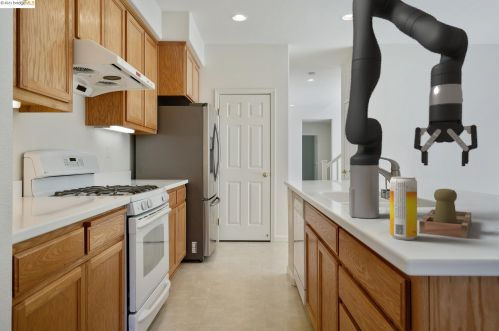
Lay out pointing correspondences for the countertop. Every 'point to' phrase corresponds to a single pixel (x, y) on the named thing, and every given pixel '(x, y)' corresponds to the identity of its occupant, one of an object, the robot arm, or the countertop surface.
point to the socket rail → (446, 225)
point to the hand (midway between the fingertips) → (444, 165)
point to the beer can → (403, 207)
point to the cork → (445, 206)
